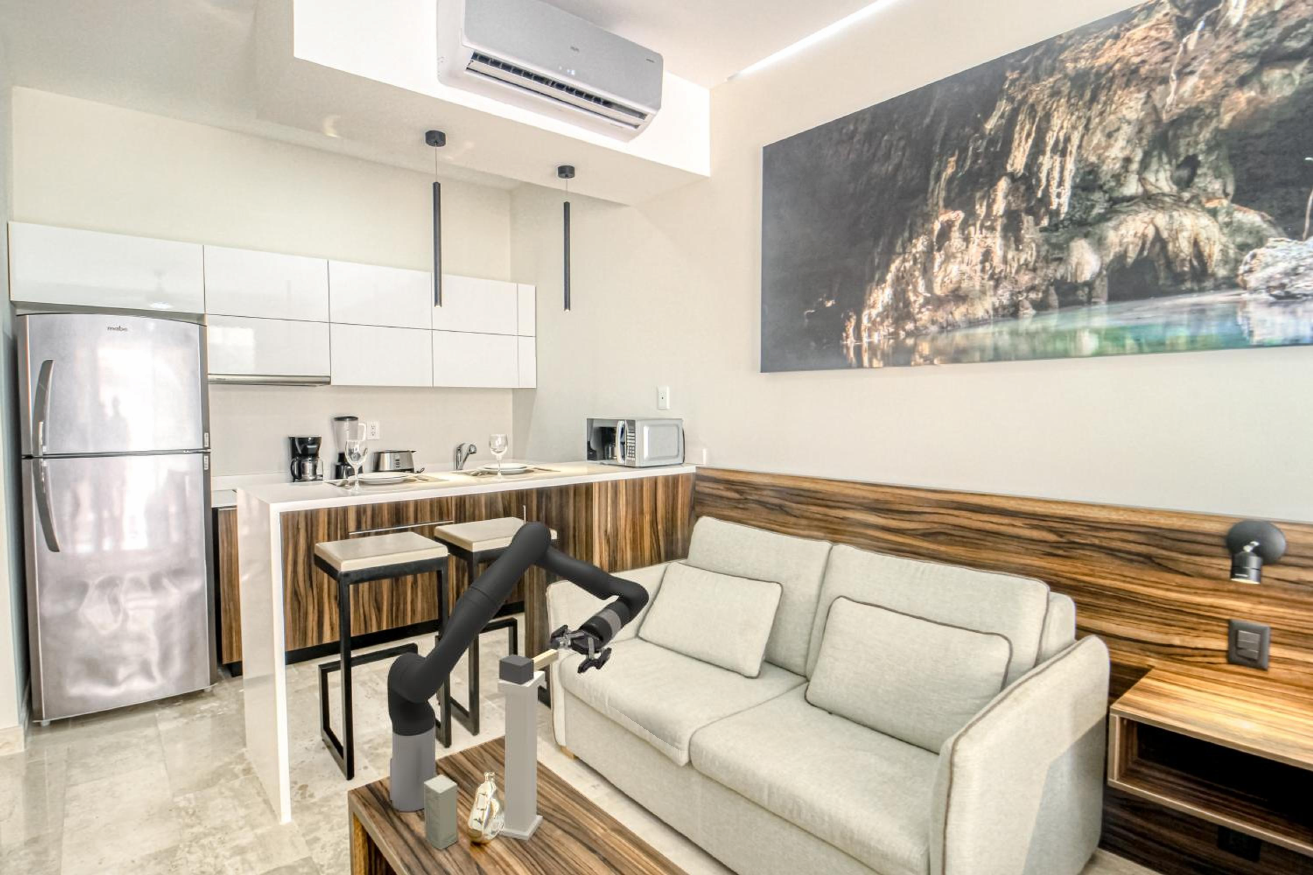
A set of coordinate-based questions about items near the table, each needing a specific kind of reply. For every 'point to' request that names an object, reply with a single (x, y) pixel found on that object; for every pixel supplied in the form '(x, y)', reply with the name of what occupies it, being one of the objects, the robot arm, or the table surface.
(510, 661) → the rubber mallet
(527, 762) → the pale stand
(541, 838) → the table surface
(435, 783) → the skincare box
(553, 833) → the table surface
